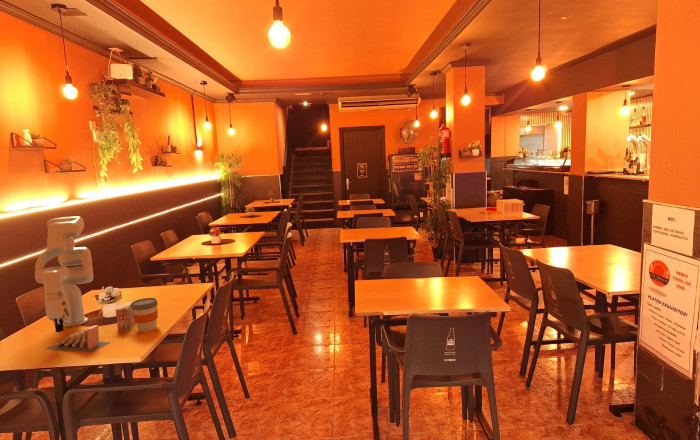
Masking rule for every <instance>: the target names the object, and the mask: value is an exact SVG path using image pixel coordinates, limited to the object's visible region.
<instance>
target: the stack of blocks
mask: <svg viewBox="0 0 700 440" xmlns="http://www.w3.org/2000/svg"><path fill="white" fill-rule="evenodd" d="M132 302H133V301H132V300H131V301H125V302H120V303H119V305H118V306H117V307H115V314H116V315H115V318H116V325H117V331H118V332H124V331H130V330H132V328H133V327H134V325H135V323H136V322H135V319H134V316H133V313H134V312H133V310H132Z"/></svg>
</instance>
